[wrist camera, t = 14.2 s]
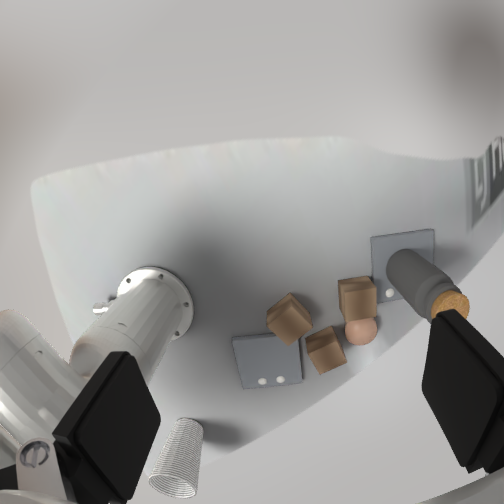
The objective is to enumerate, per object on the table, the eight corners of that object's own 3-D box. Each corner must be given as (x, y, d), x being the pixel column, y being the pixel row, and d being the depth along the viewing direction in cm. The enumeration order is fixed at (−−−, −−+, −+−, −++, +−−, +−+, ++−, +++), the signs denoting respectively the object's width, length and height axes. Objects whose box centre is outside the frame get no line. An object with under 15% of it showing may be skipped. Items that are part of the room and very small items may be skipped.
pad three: (372, 301, 45) (374, 304, 44) (370, 237, 42) (372, 239, 41) (429, 290, 44) (432, 292, 43) (430, 228, 41) (434, 230, 40)
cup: (165, 410, 54) (143, 470, 39) (208, 416, 53) (194, 480, 38) (171, 436, 56) (153, 493, 41) (211, 442, 56) (199, 501, 41)
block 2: (316, 357, 48) (319, 374, 44) (305, 337, 47) (307, 354, 43) (341, 346, 47) (347, 362, 43) (331, 325, 46) (336, 340, 42)
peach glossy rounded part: (379, 314, 45) (381, 319, 43) (370, 341, 46) (372, 347, 45) (348, 310, 45) (349, 315, 44) (341, 337, 47) (341, 342, 46)
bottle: (425, 273, 42) (477, 318, 28) (393, 293, 43) (437, 347, 29) (412, 240, 41) (467, 278, 26) (379, 261, 42) (424, 309, 28)
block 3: (339, 307, 45) (345, 322, 41) (337, 280, 44) (344, 292, 40) (367, 302, 45) (376, 316, 41) (367, 275, 44) (376, 287, 39)
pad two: (243, 385, 50) (243, 389, 49) (232, 337, 48) (231, 341, 47) (302, 379, 49) (302, 383, 48) (296, 330, 47) (297, 333, 46)
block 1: (286, 330, 47) (288, 346, 43) (266, 311, 46) (266, 326, 42) (309, 312, 46) (313, 327, 42) (290, 292, 45) (292, 306, 41)
